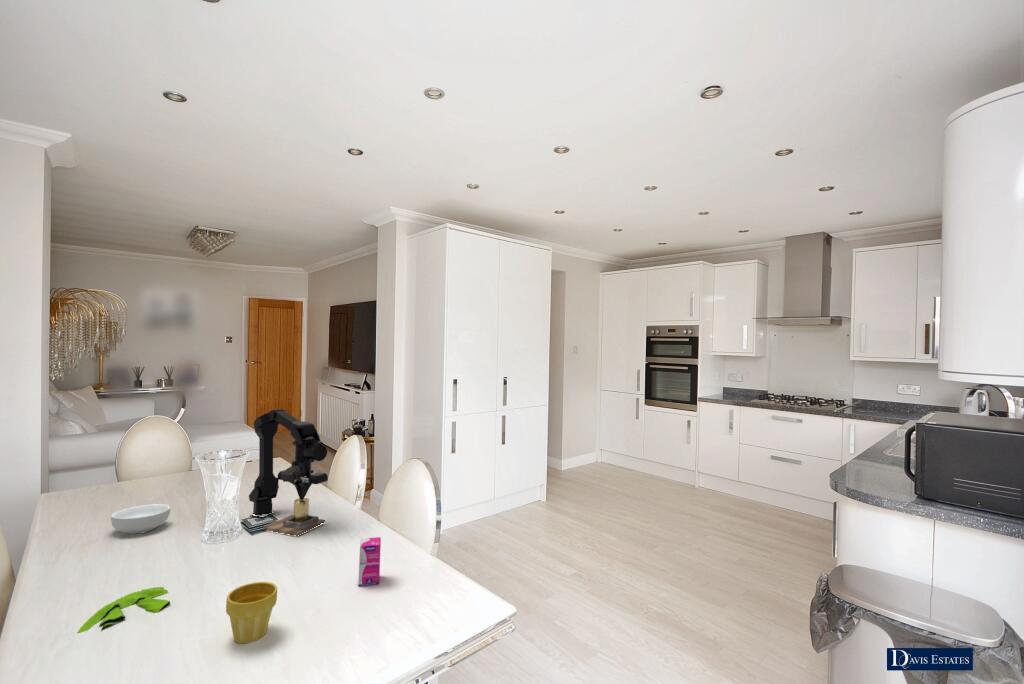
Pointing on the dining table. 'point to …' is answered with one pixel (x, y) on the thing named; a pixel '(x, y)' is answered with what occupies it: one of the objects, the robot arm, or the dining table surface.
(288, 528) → the jig
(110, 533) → the dining table surface
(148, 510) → the cereal bowl
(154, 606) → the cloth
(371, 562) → the supplement box
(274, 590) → the plant pot
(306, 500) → the solid brass cylinder
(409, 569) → the dining table surface
